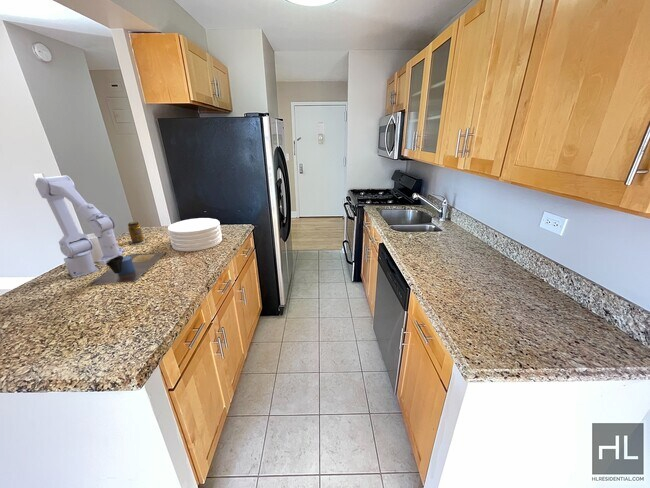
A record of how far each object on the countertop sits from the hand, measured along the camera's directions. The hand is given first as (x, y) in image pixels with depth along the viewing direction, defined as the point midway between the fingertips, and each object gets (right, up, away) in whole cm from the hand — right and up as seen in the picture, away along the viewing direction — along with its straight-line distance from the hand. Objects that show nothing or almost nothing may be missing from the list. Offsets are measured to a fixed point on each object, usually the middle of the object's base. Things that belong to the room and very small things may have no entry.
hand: (118, 272), depth 117 cm
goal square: (-3, +5, +20) cm, 21 cm away
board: (-1, +2, +11) cm, 11 cm away
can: (-1, 0, +6) cm, 6 cm away
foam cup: (-25, +5, +19) cm, 32 cm away
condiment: (-22, +14, +43) cm, 50 cm away
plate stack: (+15, +14, +42) cm, 47 cm away
